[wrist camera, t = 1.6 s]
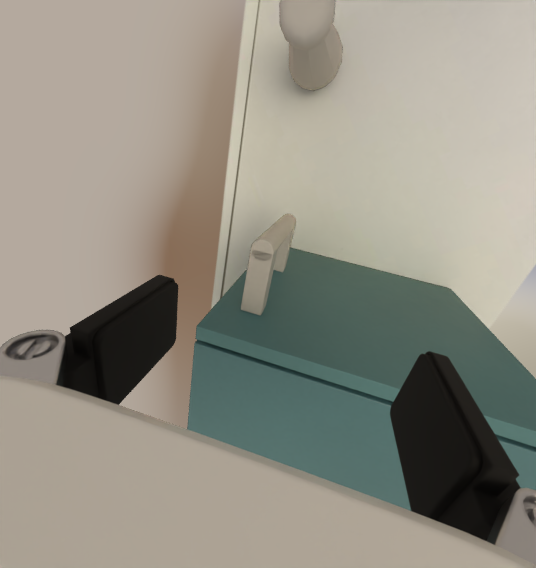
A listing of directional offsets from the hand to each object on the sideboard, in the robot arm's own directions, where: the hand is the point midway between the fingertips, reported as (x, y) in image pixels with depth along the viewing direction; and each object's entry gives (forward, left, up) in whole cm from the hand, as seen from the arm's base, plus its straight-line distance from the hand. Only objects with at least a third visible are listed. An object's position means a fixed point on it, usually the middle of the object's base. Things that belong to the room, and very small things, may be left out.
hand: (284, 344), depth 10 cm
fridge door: (0, +7, -30) cm, 31 cm away
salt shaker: (-13, -12, -31) cm, 35 cm away
